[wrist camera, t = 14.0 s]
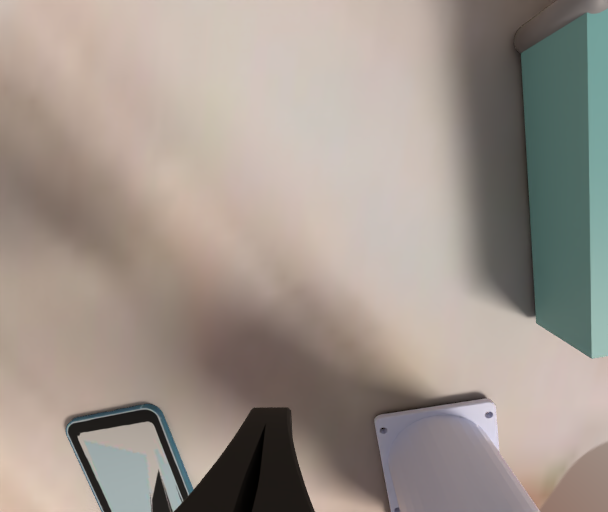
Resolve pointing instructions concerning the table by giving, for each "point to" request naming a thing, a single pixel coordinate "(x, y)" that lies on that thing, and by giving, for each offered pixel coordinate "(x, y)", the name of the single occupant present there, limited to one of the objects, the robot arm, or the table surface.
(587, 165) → the teal plank
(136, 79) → the table surface
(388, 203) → the table surface
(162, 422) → the smartphone
